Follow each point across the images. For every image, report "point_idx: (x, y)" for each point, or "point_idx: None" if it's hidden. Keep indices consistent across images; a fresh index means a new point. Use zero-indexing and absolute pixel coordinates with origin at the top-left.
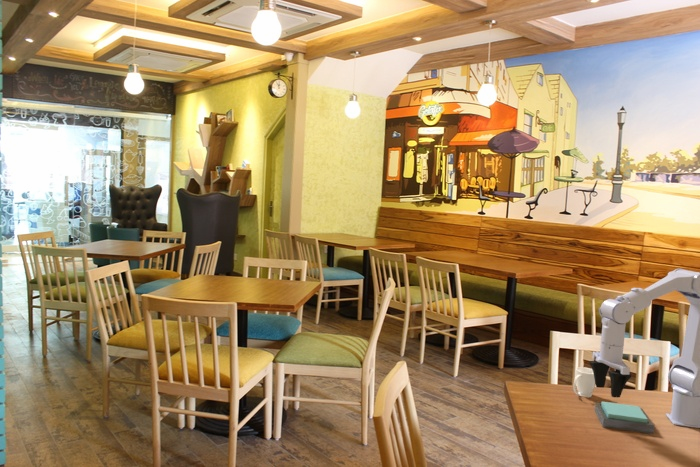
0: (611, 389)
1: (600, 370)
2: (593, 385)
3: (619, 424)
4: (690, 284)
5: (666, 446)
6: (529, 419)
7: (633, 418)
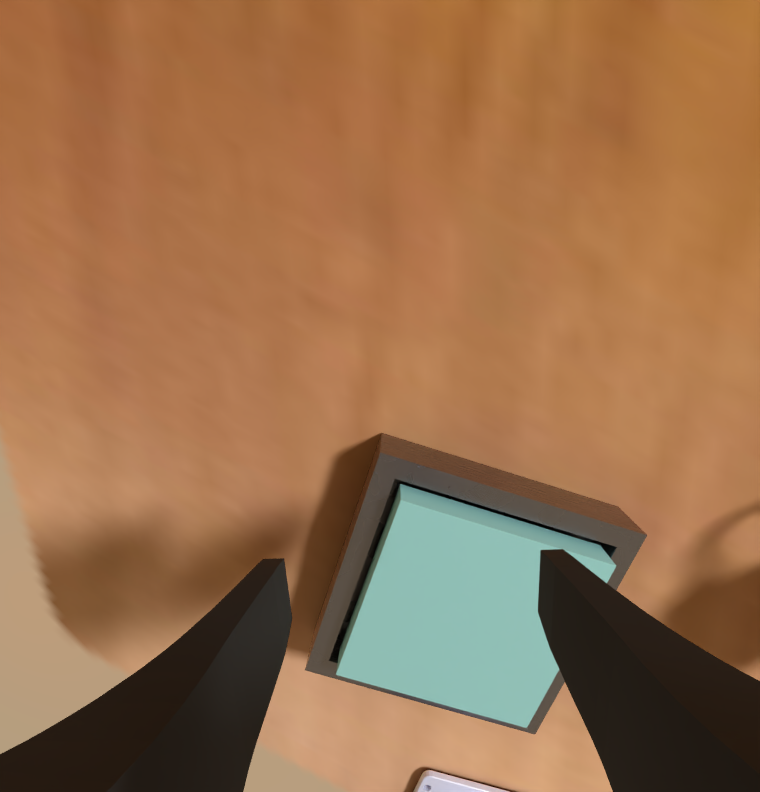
0: (246, 599)
1: (654, 771)
2: None
3: (355, 517)
4: None
5: (188, 612)
6: None
7: (357, 611)
